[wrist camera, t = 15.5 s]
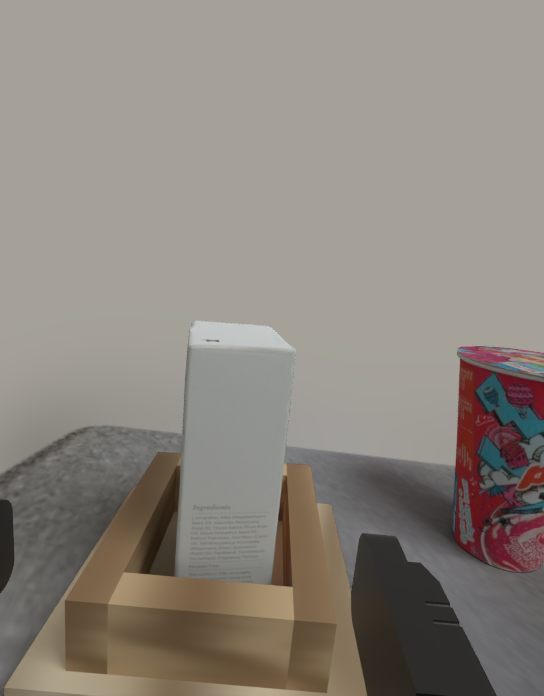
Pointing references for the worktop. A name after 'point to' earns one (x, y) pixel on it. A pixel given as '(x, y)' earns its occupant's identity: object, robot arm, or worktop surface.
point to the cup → (500, 457)
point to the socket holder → (200, 610)
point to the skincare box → (232, 451)
